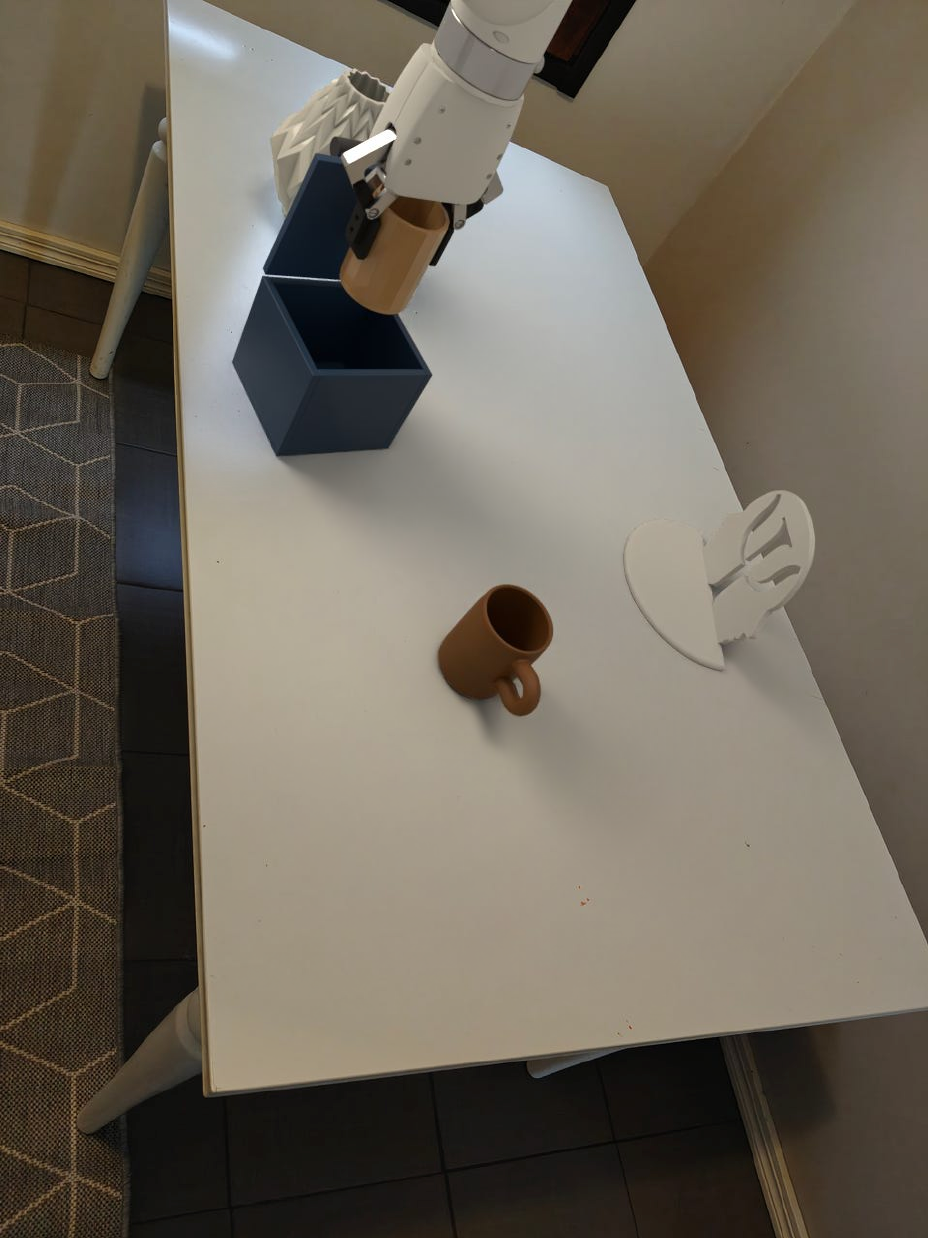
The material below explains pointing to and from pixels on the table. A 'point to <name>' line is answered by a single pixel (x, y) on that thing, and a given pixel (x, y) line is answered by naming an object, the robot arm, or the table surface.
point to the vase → (324, 127)
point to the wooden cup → (396, 255)
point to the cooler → (326, 368)
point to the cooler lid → (317, 220)
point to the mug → (499, 648)
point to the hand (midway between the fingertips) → (391, 250)
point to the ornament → (717, 574)
